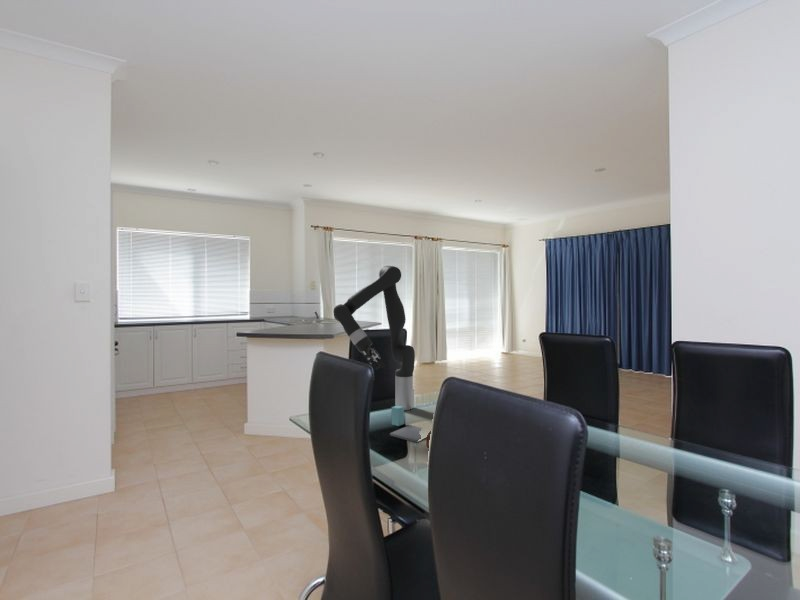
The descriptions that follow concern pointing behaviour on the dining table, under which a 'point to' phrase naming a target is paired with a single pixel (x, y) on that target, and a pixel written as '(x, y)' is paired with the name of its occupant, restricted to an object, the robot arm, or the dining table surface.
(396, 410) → the block
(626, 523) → the dining table surface
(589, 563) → the dining table surface
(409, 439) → the mat
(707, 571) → the dining table surface
